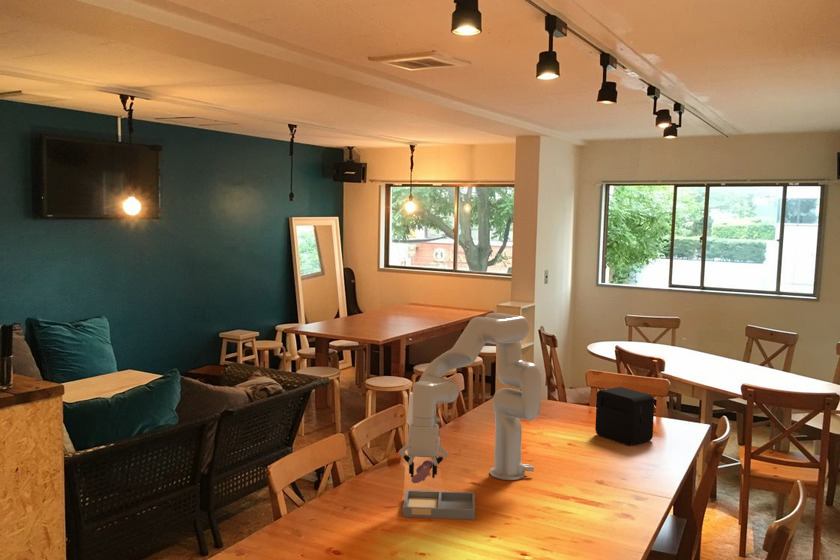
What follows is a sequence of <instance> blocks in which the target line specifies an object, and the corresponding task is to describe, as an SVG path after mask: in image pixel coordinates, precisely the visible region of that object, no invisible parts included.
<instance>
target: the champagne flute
mask: <svg viewBox="0 0 840 560" xmlns="http://www.w3.org/2000/svg"><path fill="white" fill-rule="evenodd" d="M412 405H413V391H410V392H409V398H408V408H407V416H406V422H407V424H408V426H410V423H412Z"/></svg>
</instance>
